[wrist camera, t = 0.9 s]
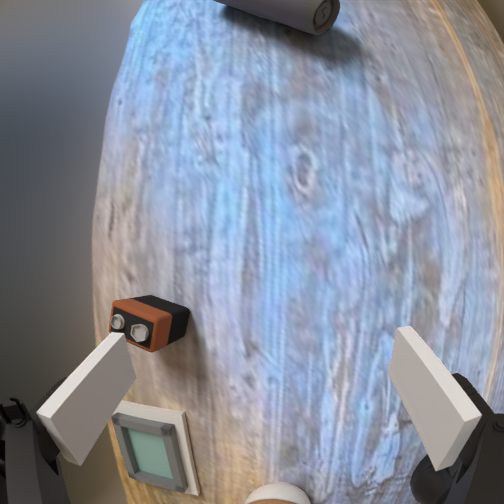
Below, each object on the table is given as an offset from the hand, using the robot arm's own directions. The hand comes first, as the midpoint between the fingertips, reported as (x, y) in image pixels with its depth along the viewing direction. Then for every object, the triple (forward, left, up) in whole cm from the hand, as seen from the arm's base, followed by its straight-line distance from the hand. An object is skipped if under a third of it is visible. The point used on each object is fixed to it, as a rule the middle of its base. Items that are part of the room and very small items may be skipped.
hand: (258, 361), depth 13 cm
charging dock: (-26, +23, -24) cm, 42 cm away
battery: (-2, +17, -24) cm, 30 cm away
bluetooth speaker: (+48, -2, -24) cm, 54 cm away
